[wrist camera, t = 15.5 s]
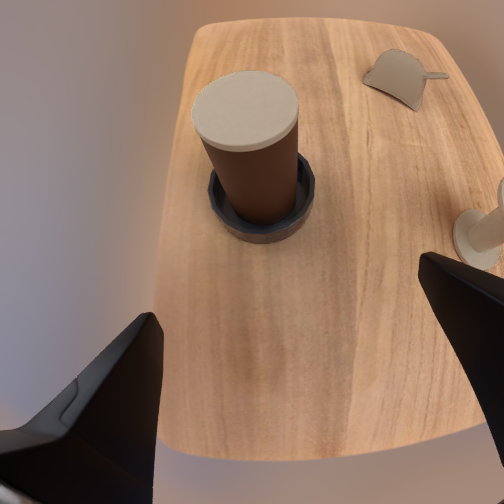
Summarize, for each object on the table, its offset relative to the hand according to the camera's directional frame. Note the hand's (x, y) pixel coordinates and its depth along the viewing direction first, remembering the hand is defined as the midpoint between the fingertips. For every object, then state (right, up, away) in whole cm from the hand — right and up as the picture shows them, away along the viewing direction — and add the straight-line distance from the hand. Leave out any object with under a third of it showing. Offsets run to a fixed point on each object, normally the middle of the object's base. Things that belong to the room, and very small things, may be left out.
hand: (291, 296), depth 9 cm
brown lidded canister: (0, +6, +15) cm, 17 cm away
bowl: (0, +6, +16) cm, 17 cm away
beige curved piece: (+15, +19, +18) cm, 30 cm away
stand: (+19, +2, +12) cm, 23 cm away
